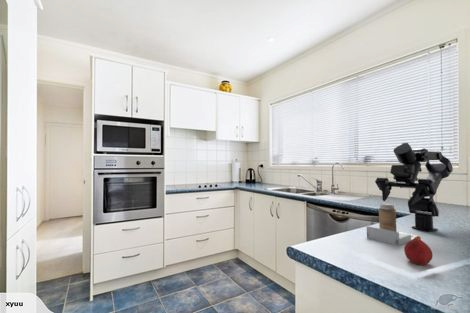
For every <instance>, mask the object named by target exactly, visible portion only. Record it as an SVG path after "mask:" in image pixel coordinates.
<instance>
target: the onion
mask: <svg viewBox="0 0 470 313" xmlns="http://www.w3.org/2000/svg"><path fill="white" fill-rule="evenodd" d="M421 239H422V237H421V236H420V235H416V237H415V238H414V239H412V240H410V241H408V242H405V243H406V244H405V245H404V246H403V251H404V255H405V256H406V258H407V259H408V260H409V262H411V263H412V264H416V265H418V266H424V265H427V264H429V263H430V262H431V261H432V259H433V257H434V255H433V251H432V248H431V247H430V246H429V245H428V244H427V243H426V242H424V241H423V240H421Z"/></svg>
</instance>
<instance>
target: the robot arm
mask: <svg viewBox="0 0 470 313" xmlns="http://www.w3.org/2000/svg"><path fill="white" fill-rule="evenodd" d="M393 153H394V155H395V157H396V159H397V161H398V163H399V164H392V165H391V166H390V167H391V168H390V171H389V172H390V174H392V176H393V180H389V178H388V177H377V178H376V179H375V181H374V182H375V184H376V186H377V188H378V189H379V191H380V192H381V193H382V194H381V196H382V197H381V198H382V201H383V202H386V201H387V199H388V197H389V195H390V194H391V193H392V192H391V190H392V187H394V188H400V189H409V190H410V189H411V190H414V191H412V194H411V195H410V196H409V197H410V198H409V199H408V200H407V207H408V211H409V214H414V225H413V226H411V228H412V229H415V230H421V231H425V232H432V231H434V232H435V231H438V230H439V229H438V228H436V227H434V218H435V217H439V214H440V210H439V209H438V206H437V204H436V203H435V200H434V197H435V195H436V194H437V191H438V188H439V186H440V184H441V182H442V180H443V179H446V178H448V177H450V174H452V172H453V170H454V168H453V165H452V162H451V160H450V159H449V158H447V157H446V156H444V155H443V153H442V151H439V150H438V151H437V150H435V151H429V149H426V148H422V147H421V148H412V146H411V145H410V144H409V142H402V143H401V144H400V145H397V146H396V147H395V148H394V149H393ZM430 161H439V162H430ZM421 163H425V165H424V166H425V169H426V170H427V172H428V175H427V177H426V178H418V175H419V173H421V172H422V171H423V170H422V167H421V166H422V164H421Z"/></svg>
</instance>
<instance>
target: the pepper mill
mask: <svg viewBox="0 0 470 313" xmlns="http://www.w3.org/2000/svg"><path fill="white" fill-rule="evenodd" d="M396 212H397V210H396V209H395V205H394V204H392V203H380V204H379V208H378V222H379V226H378V228H382V229H386V230H391V231H396V232H398V231H397V213H396Z"/></svg>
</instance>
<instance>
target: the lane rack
mask: <svg viewBox="0 0 470 313" xmlns="http://www.w3.org/2000/svg"><path fill="white" fill-rule="evenodd" d="M416 236H417V234H416V235H414V234H411V233H406V232H402V231H397V232H396V231H391V230H386V229H382V228H380V227H377V226H372V225H366V238H368V239H373V240H376V241H380V242H384V243H388V244H392V245H395V246H400V245H402V244H405V243H407V242H409V241H410V240H412V239H414V238H415V237H416Z"/></svg>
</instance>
